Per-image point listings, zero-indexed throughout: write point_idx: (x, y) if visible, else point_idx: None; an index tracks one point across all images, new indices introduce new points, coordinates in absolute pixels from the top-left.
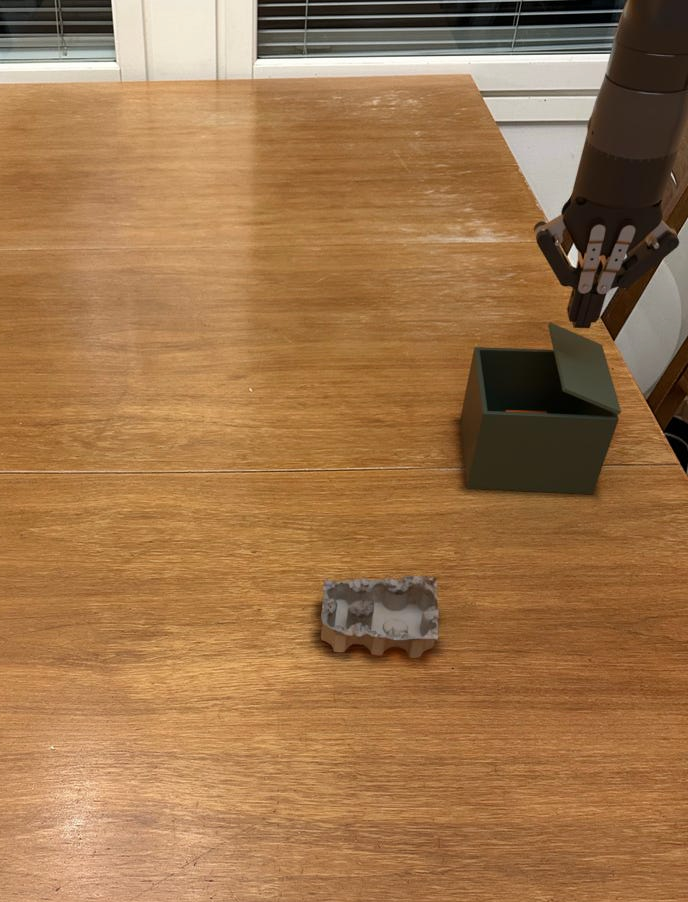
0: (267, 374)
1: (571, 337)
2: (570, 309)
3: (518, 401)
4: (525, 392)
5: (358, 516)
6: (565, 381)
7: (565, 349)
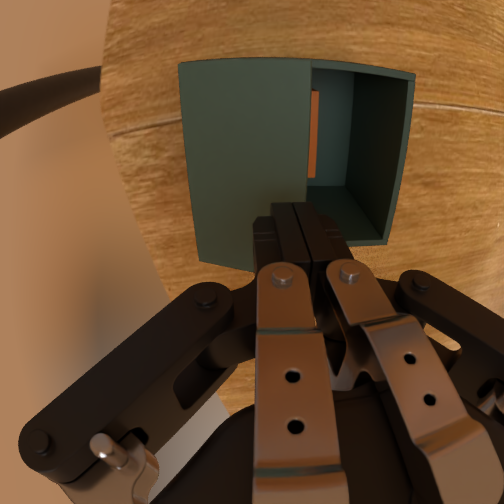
0: (482, 245)
1: None
2: (340, 235)
3: None
4: None
5: (461, 36)
6: (305, 88)
7: None
